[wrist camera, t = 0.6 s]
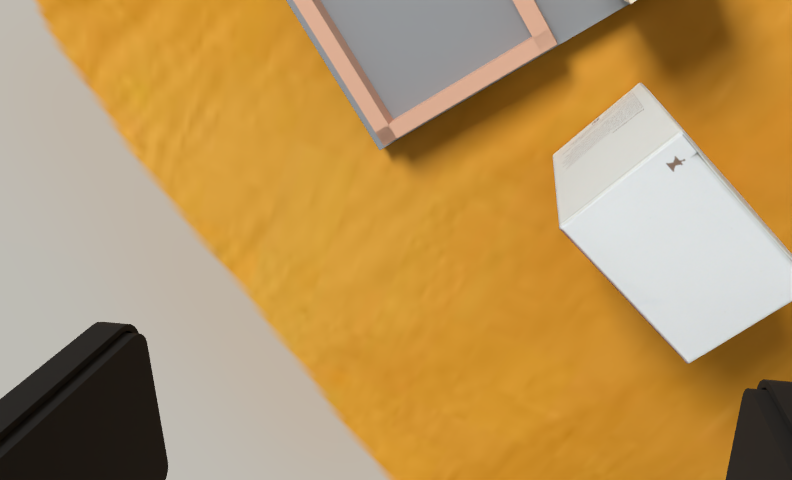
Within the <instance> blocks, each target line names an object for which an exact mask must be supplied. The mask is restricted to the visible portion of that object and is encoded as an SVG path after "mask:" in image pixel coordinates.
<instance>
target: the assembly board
mask: <svg viewBox="0 0 792 480" xmlns="http://www.w3.org/2000/svg"><path fill="white" fill-rule="evenodd" d="M286 1H287V2H288V4H289V6H290V7H291V9H292V10H293V12H294V14H295V15H296V17H297V18H298V20H299V22H300V23H301V25H302V26H303V28H304V30H305V31H306V33H307V34H308V36H309V38H310V39H311V41H312V42H313V44H314V46H315V47H316V49H317V50H318V52H319V54H320V55H321V57H322V58H323V60H324V62H325V63H326V65H327V66H328V68H329V70H330V71H331V73H332V74H333V76H334V78H335V79H336V81H337V83H338V84H339V86H340V87H341V89H342V91H343V92H344V94H345V95H346V97H347V99H348V100H349V102H350V103H351V105H352V107H353V108H354V110H355V111H356V113H357V115H358V116H359V118H360V119H361V121H362V123H363V124H364V126H365V127H366V129H367V131H368V132H369V134H370V135H371V137H372V139H373V140H374V142H375V143H376V145H377V147H378V148H379V150H381V149H383V148H384V147H386V146H388V145H389V144H391V143H393V142H395V141H396V140H398V139H400V138H401V137H403V136H405V135H407V134H408V133H410V132H412V131H413V130H415V129H417V128H418V127H420V126H422V125H424V124H425V123H427V122H429V121H430V120H432V119H434V118H436V117H437V116H439V115H441V114H442V113H444V112H446V111H447V110H449V109H451V108H453V107H454V106H456V105H458V104H459V103H461V102H463V101H465V100H466V99H468V98H470V97H471V96H473V95H475V94H476V93H478V92H480V91H482V90H483V89H485V88H487V87H488V86H490V85H492V84H494V83H495V82H497V81H499V80H500V79H502V78H504V77H505V76H507V75H509V74H511V73H512V72H514V71H516V70H517V69H519V68H521V67H523V66H524V65H526V64H528V63H529V62H531V61H533V60H534V59H536V58H538V57H540V56H541V55H543V54H545V53H546V52H548V51H550V50H552V49H553V48H555V47H557V46H558V45H560V44H562V43H563V42H565V41H567V40H569V39H570V38H572V37H574V36H575V35H577V34H579V33H581V32H582V31H584V30H586V29H587V28H589V27H591V26H592V25H594V24H596V23H598V22H599V21H601V20H603V19H604V18H606V17H608V16H610V15H611V14H613V13H615V12H616V11H618V10H620V9H621V8H623V7H625V6H627V5H628V4H631V3H633V2H635V1H636V0H286Z"/></svg>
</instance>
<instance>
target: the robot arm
mask: <svg viewBox="0 0 792 480" xmlns="http://www.w3.org/2000/svg"><path fill="white" fill-rule="evenodd" d="M167 472H168V461H167V455H166V449H165V443H164V438H163V432H162V426H161V421H160V415H159V409H158V403H157V398H156V392H155V386H154V381H153V375H152V369H151V363H150V357H149V352H148V346H147V341H146V338H145V337H144V336H143V335H142V334H139V333H138V331H137V329H136V328H135V327H134V326H133V325H131V324H120V323H109V322H97V323H95V324H94V325H92V326H91V327H90V328H89V329H87V330H86V331H85V332H83V333H82V334H81V335H80V336H78V337H77V338H76V339H75V340H73V341H72V342H71V343H70V344H69V345H67V346H66V347H65V348H63V349H62V350H61V351H60V352H58V353H57V354H56V355H55V356H53V357H52V358H51V359H50V360H49V361H47V362H46V363H45V364H44V365H42V366H41V367H40V368H39V369H37V370H36V371H35V372H34V373H32V374H31V375H30V376H29V377H27V378H26V379H25V380H24V381H22V382H21V383H20V384H19V385H17V386H16V387H15V388H14V389H13V390H11V391H10V392H9V393H7V394H6V395H5V396H4V397H3V398H1V399H0V480H165V479H166V476H167ZM726 480H792V382H786V381H775V380H762V381H760V383H759V385H758V387H757V389H749V388H747V389H746V390H745V391H744V393H743V397H742V401H741V406H740V411H739V416H738V421H737V426H736V431H735V436H734V441H733V446H732V451H731V456H730V461H729V466H728V471H727V476H726Z"/></svg>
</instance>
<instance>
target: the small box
mask: <svg viewBox="0 0 792 480" xmlns="http://www.w3.org/2000/svg"><path fill="white" fill-rule="evenodd" d="M553 166H554V177H555V187H556V198H557V209H558V219H559V228H560V230H561V231H562V232H563V233H564V234H565V235H566V236H567V237H568V238H569V239H570V240H571V241H572V242H573V243H574V244H575V245H576V246H577V248H578V249H579V250H580V251H581V252H582V253H583V254H584V255H585V256H586V257H587V258H588V259H589V260H590V261H591V262H592V263H593V264H594V265H595V266H596V268H597V269H598V270H599V271H600V272H601V273H602V274H603V275H604V276H605V277H606V278H607V279H608V280H609V281H610V282H611V283H612V285H613V286H614V287H615V288H616V289H617V290H618V291H619V292H620V293H621V294H622V295H623V296H624V297H625V298H626V299H627V300H628V301H629V302H630V304H631V305H632V306H633V307H634V308H635V309H636V310H637V311H638V312H639V313H640V314H641V315H642V316H643V317H644V318H645V319H646V320H647V321H648V323H649V324H650V325H651V326H652V327H653V328H654V329H655V330H656V331H657V332H658V333H659V334H660V335H661V336H662V337H663V339H664V340H665V341H666V342H667V343H668V344H669V345H670V346H671V347H672V348H673V349H674V350H675V351H676V352H677V353H678V354H679V355H680V356H681V357H682V358H683V360H684V361H685V362H686V363H691V362H692V361H694V360H696V359H697V358H699V357H701V356H702V355H704V354H706V353H707V352H709V351H711V350H712V349H714V348H716V347H717V346H719V345H721V344H722V343H724V342H726V341H727V340H729V339H730V338H732V337H734V336H735V335H737V334H739V333H740V332H742V331H744V330H745V329H747V328H748V327H750V326H752V325H753V324H755V323H757V322H758V321H760V320H762V319H763V318H765V317H767V316H768V315H770V314H772V313H773V312H775V311H777V310H778V309H780V308H782V307H783V306H785V305H787V304H788V303H790V302H792V254H791V252H790V251H789V250H788V249H787V248H786V247H785V246H784V244H783V243H782V242H781V241H780V240H779V239H778V237H777V236H776V235H775V234H774V233H773V232H772V231H771V229H770V228H769V227H768V226H767V225H766V224H765V223H764V221H763V220H762V219H761V218H760V217H759V216H758V214H757V213H756V212H755V211H754V210H753V208H752V207H751V206H750V205H749V204H748V203H747V201H746V200H745V199H744V198H743V197H742V196H741V194H740V193H739V192H738V191H737V190H736V189H735V188H734V186H733V185H732V184H731V183H730V182H729V181H728V180H727V179H726V178H725V176H724V175H723V174H722V173H721V172H720V171H719V170H718V169H717V167H716V166H715V165H714V164H713V163H712V162H711V161H710V160H709V159H708V157H707V156H706V155H705V154H704V153H703V152H702V150H701V149H700V148H699V147H698V146H697V145H696V143H695V142H694V141H693V140H692V139H691V138H690V136H689V135H688V134H687V133H686V132H685V131H684V130H683V128H682V127H681V126H680V125H679V124H678V123H677V122H676V120H675V119H674V118H673V117H672V116H671V115H670V113H669V112H668V111H667V110H666V109H665V108H664V107H663V106H662V104H661V103H660V102H659V101H658V100H657V99H656V98H655V97H654V95H653V94H652V93H651V92H650V91H649V90H648V89H647V88H646V87H645V86H644V85H643V84H642V83H638V84H637V85H636V86H635V87H634V88H632V89H631V90H630V91H629V92H628V93H627V94H625V95H624V96H623V97H622V98H620V99H619V100H618V101H617V102H616V103H614V104H613V105H612V106H611V107H610V108H608V109H607V110H606V111H605V112H604V113H602V114H601V115H600V116H599V117H598V118H596V119H595V120H594V121H593V122H592V123H590V124H589V125H588V126H587V127H585V128H584V129H583V130H582V131H581V132H580V133H578V134H577V135H576V136H575V137H574V138H572V139H571V140H570V141H569V142H568V143H566V144H565V145H564V146H563V147H562V148H560V149H559V150H558V151H557V152H555V153H554V154H553Z"/></svg>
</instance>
